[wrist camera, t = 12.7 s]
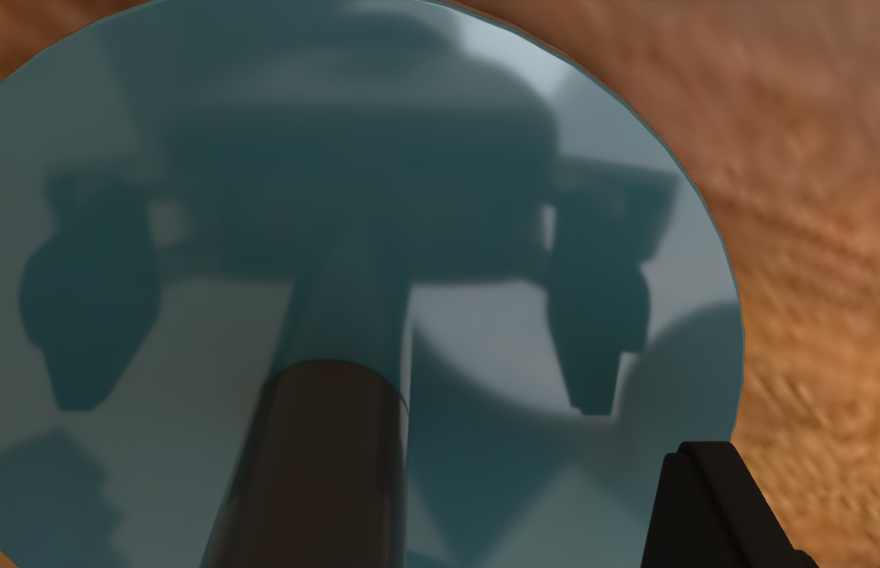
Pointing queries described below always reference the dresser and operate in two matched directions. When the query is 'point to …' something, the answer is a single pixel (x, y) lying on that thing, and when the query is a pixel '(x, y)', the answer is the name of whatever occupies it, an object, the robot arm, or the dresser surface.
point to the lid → (344, 295)
